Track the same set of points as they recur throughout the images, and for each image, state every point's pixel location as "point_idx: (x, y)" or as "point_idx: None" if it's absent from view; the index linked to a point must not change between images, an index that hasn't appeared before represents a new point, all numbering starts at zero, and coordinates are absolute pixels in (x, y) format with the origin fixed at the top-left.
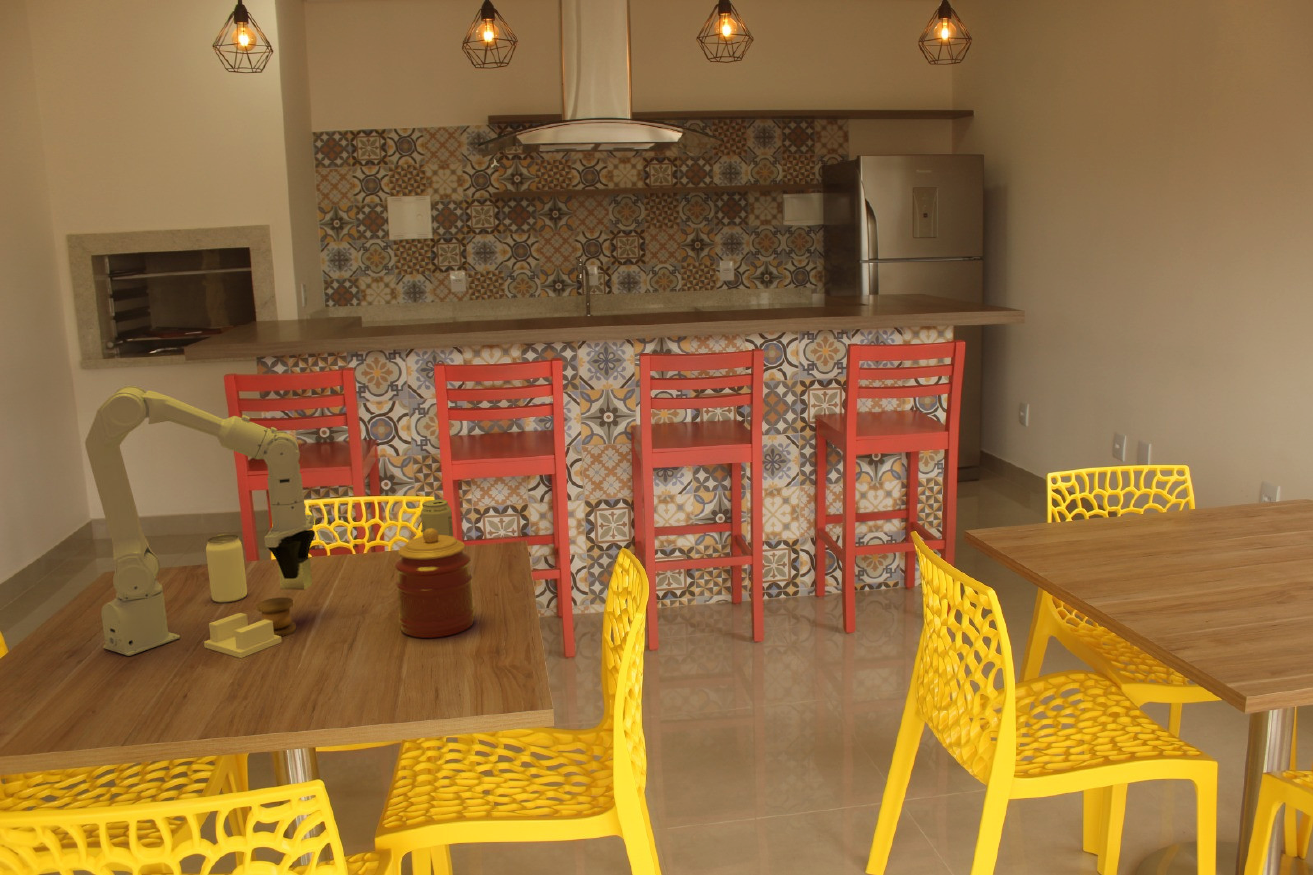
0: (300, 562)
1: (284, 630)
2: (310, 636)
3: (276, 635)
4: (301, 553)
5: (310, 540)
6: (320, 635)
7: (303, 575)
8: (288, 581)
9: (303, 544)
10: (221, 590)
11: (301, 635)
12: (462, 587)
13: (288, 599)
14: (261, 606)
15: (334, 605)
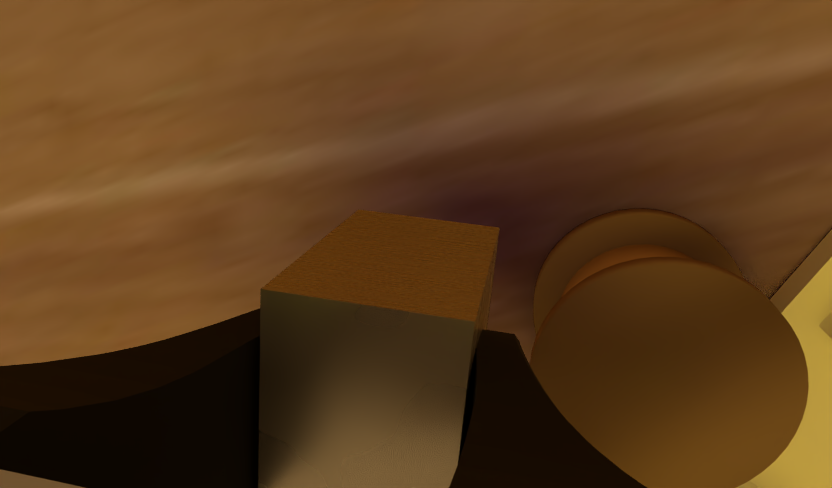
0: (449, 347)
1: (709, 253)
2: (758, 72)
3: (823, 269)
4: (225, 415)
5: (35, 384)
6: (751, 7)
7: (482, 266)
8: None
9: (153, 453)
10: None
11: (727, 139)
12: None
13: (581, 316)
14: (725, 462)
15: (212, 119)
